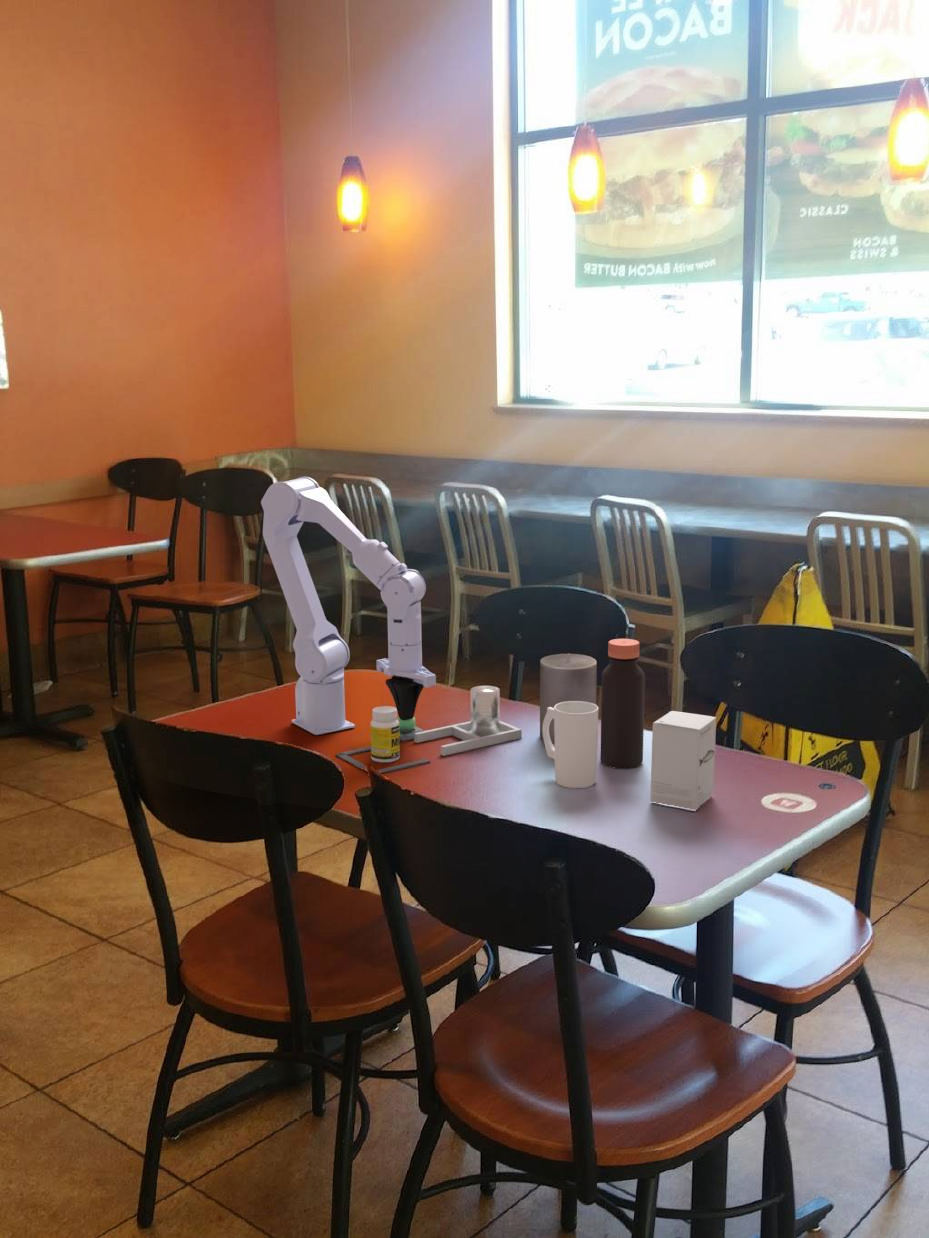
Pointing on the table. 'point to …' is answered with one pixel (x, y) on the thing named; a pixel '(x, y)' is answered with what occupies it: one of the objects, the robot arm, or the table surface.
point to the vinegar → (622, 706)
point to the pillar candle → (565, 683)
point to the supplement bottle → (385, 734)
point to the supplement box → (683, 759)
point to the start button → (406, 724)
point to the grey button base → (409, 734)
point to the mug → (573, 742)
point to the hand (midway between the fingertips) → (406, 718)
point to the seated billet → (485, 710)
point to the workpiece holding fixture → (468, 737)
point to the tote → (346, 757)
